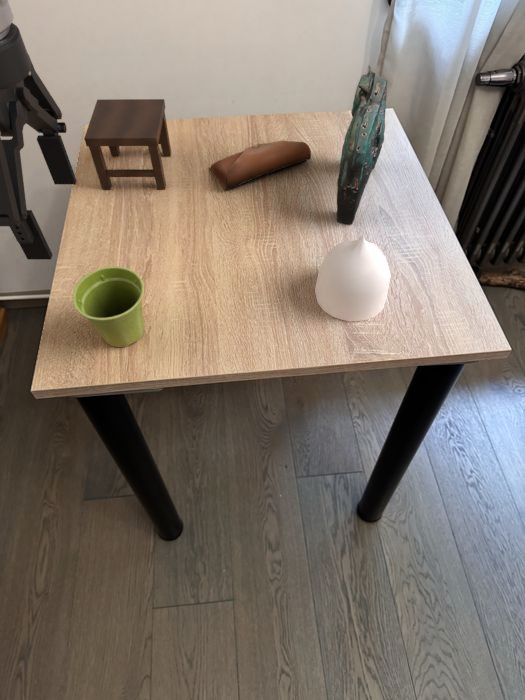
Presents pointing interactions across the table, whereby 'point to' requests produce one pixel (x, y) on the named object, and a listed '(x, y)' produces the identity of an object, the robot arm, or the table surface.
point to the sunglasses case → (259, 161)
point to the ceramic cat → (361, 144)
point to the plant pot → (112, 304)
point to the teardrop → (353, 281)
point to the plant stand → (128, 136)
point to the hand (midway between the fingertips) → (53, 217)
